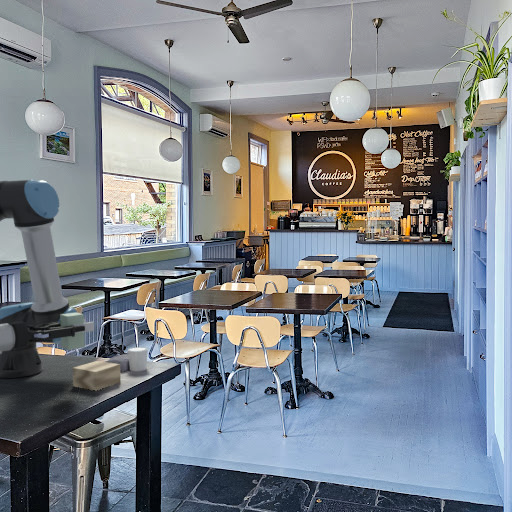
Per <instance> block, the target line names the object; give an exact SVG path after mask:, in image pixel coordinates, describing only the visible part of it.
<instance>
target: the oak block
mask: <svg viewBox="0 0 512 512" xmlns="http://www.w3.org/2000/svg"><path fill="white" fill-rule="evenodd" d="M121 381H122V380H121V371H120V364H114V363H108V362H105V361H101V360H96V361H92V362H89V363H86V364H81V365H77V366H74V367H72V385H73V387H74V388H78V387H79V389H83V388H84V390H88V389H89V391H93V390H95V391H94V392H98V391H100V389H101V390H103V389H102V388H104V389H106V388H105V387H107V388H109V387H108V386H110V385H112V386H115V385H117V383H118V384H121V383H120V382H121ZM114 384H115V385H114ZM110 387H111V386H110ZM97 390H98V391H97Z"/></svg>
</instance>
